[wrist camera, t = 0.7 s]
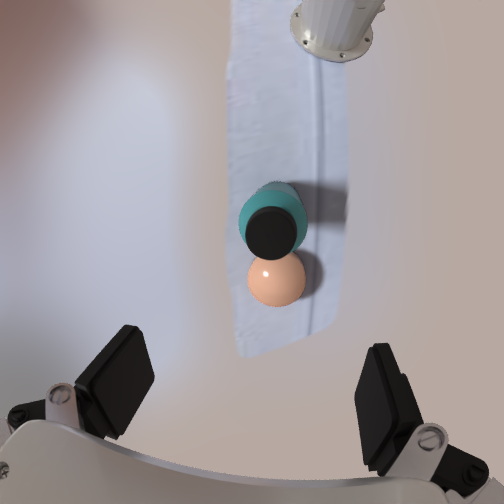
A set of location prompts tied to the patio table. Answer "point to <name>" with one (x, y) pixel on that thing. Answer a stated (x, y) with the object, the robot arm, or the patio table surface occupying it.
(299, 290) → the tan rounded flat piece
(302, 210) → the beverage bottle
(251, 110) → the patio table surface
